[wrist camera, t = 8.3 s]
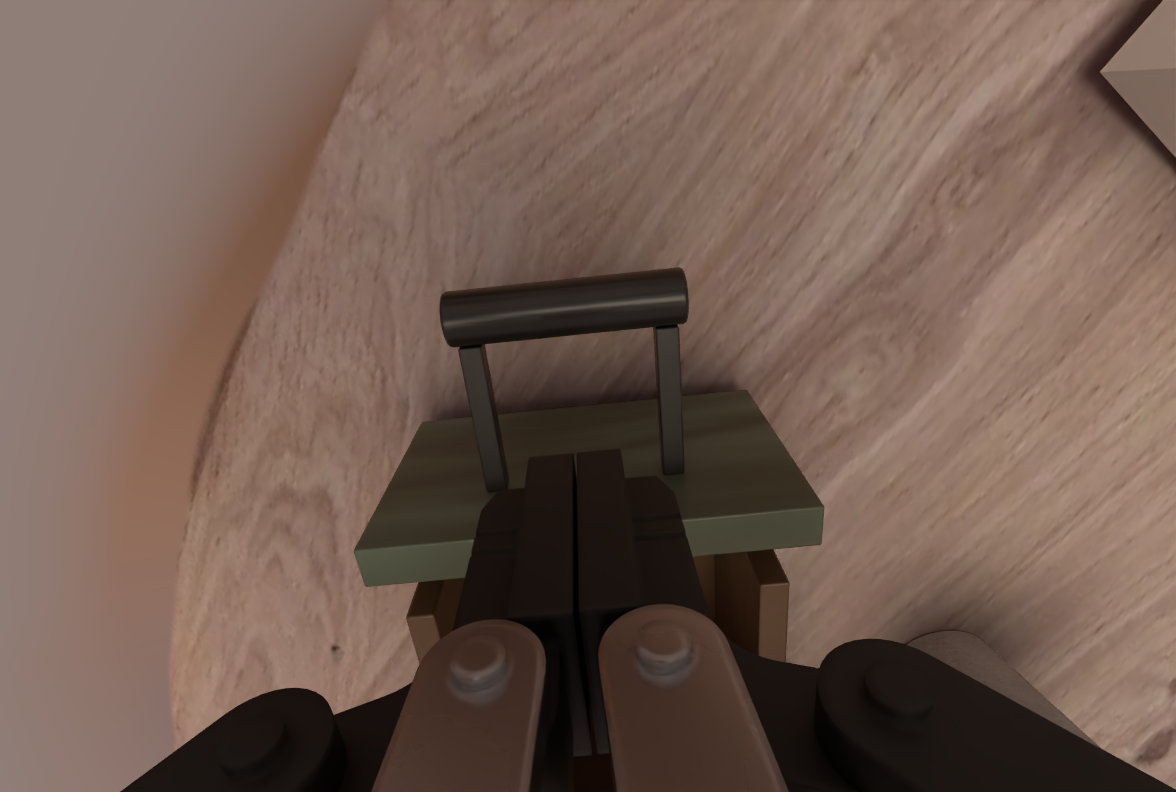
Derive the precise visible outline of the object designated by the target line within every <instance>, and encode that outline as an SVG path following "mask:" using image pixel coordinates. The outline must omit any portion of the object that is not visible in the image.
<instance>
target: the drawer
mask: <svg viewBox="0 0 1176 792" xmlns="http://www.w3.org/2000/svg"><path fill="white" fill-rule="evenodd" d="M688 312H689V299H688V288H687V281H686V276H685V273H684V271H683V269H682V268H679V267H678V268H668V269H659V270H649V271H640V272H630V273H620V274H611V275H601V276H592V277H582V278H572V279H563V280H553V281H544V282H534V283H525V284H515V285H505V286H496V287H486V288H477V289H467V290H457V291H448V292H444V293H443V294H442V295H441V299H440V321H441V327H442V331H443V335H444V337H445V340H446V342H447V344H448V345H449V346H450V347H460V348H459V350H458V351H459V356H460V361H461V366H462V371H463V376H464V381H465V386H466V391H467V396H468V401H469V406H470V411H471V416H472V417H467V418H457V419H447V420H437V421H426V422H422V423H421V425H420V427H419V429H418V431H417V433H416V434H415V436H414V438H413V440H412V442H411V444H410V446H409V448H408V450H407V451H406V453H405V455H404V457H403V459H402V461H401V463H400V465H399V466H398V468H397V470H396V472H395V474H394V476H393V478H392V480H391V482H390V483H389V485H388V487H387V489H386V491H385V493H384V495H383V497H382V498H381V500H380V502H379V504H378V506H377V508H376V510H375V512H374V514H373V515H372V517H371V519H370V521H369V523H368V525H367V527H366V529H365V530H364V532H363V534H362V536H361V538H360V540H359V542H358V544H357V546H356V547H355V549H354V554H355V557H356V560H357V563H358V566H359V569H360V572H361V575H362V578H363V581H364V584H365V586H366V587H371V586H381V585H392V584H403V583H414V582H418V585H417V588H416V591H415V594H414V596H413V599H412V602H411V605H410V608H409V611H408V614H407V617H406V619H407V623H408V626H409V629H410V633H411V636H412V640H413V643H414V646H415V650H416V653H417V656H418V660H419V663H421V661H422V659H423V658H424V656H425V655H426V653H427V652H428V651H429V650H430V649H431V648H432V647H433V646H434V645H435V644H436V643H437V642H438V641H439V640H440V639H442V638H443V637H444V636H446V635H447V634H449V633H450V632H452V630H453V626H454V621H455V617H456V613H457V609H458V605H459V601H460V597H461V592H462V588H463V584H464V580H465V576H466V572H467V567H468V563H469V559H470V557H471V551H472V547H473V542H474V538H475V537H476V530H477V526H478V522H479V517H480V513H481V510H482V509H483V508H484V507H485V505H486V504H487V503H488V502H489V501H490V500H491V499H492V497H493V496H494V495H495V494H496V493H497V492H498V490H507V489H517V488H524V487H525V480H526V472H527V465H528V459H529V457H535V456H545V455H556V454H566V453H573V455H574V460H575V467H576V476H577V452H586V451H596V450H607V449H618V448H620V449H621V455H622V461H623V468H624V474H625V478H633V477H643V476H654V475H656V476H657V477H658V478H660V479H661V480H662V481H663V482H664V483H665V484H666V485H667V486H668V487H669V488H670V489H671V490H672V491H674V493H675V496H676V500H677V503H678V507H679V510H680V515H681V518H682V521H683V524H684V528H685V531H686V537H687V538H688V542H689V545H690V549H691V552H692V556H693V559H694V563H695V566H696V570H697V574H698V577H699V581H700V584H701V588H702V591H703V595H704V598H705V602H706V605H707V609H708V611H709V614H710V616H711V618H712V620H713V622H714V623H715V624H716V625H717V626H718V627H719V629H720V630H721V631H722V632H723V634H724V635H725V636H726V637H727V638H728V639H730V640H731V641H732V642H734V643H735V644H737V645H738V646H740V647H741V648H743V649H745V650H747V651H749V652H751V653H753V654H756V655H759V656H761V657H764V658H768V659H772V660H776V661H781V662H786V642H787V621H788V600H789V581H788V579H787V577H786V575H785V573H784V571H783V569H782V566H781V564H780V562H779V560H778V558H777V556H776V554H775V552H774V550H773V549H781V548H792V547H802V546H813V545H821V543H822V530H823V516H824V506H823V504H822V503H821V501H820V500H819V498H818V496H817V495H816V493H815V492H814V490H813V489H812V487H811V486H810V484H809V483H808V481H807V480H806V478H805V477H804V475H803V474H802V472H801V471H800V469H799V468H798V466H797V465H796V463H795V462H794V460H793V459H792V457H791V456H790V454H789V453H788V451H787V450H786V448H785V447H784V445H783V444H782V442H781V441H780V439H779V438H778V436H777V435H776V433H775V432H774V430H773V429H772V427H771V426H770V424H769V423H768V421H767V420H766V418H765V417H764V415H763V414H762V412H761V411H760V409H759V407H758V406H757V404H756V403H755V401H754V400H753V398H752V397H751V395H750V394H749V392H748V391H747V390H739V391H729V392H719V393H709V394H699V395H689V396H682V388H681V363H680V338H679V327H678V324H684V323H686V322H687V319H688ZM649 327H653V334H654V351H655V368H656V385H657V399H648V400H638V401H628V402H618V403H608V404H598V405H588V406H578V407H568V408H558V409H547V410H537V411H527V412H517V413H507V414H497V409H496V403H495V398H494V392H493V386H492V381H491V375H490V370H489V364H488V359H487V353H486V348H485V344H492V343H502V342H512V341H521V340H531V339H541V338H551V337H561V336H571V335H580V334H590V333H600V332H610V331H620V330H629V329H639V328H649ZM590 703H591V700H590ZM591 734H592V755H586V756H575V757H574V792H602V791H614V787H613V778H612V770H611V761H610V753H605V754H597V746H596V739H595V731H594V723H593V716H592V708H591Z"/></svg>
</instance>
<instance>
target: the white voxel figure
mask: <svg viewBox="0 0 1176 792" xmlns="http://www.w3.org/2000/svg"><path fill="white" fill-rule="evenodd" d="M1100 73H1101V74H1102V75H1103V76H1104V77H1105V79H1106V80H1107V81H1108V82H1109V83H1110V84H1111V85H1112V86H1113V88H1114V89H1115V90H1116V91H1117V92H1118V93H1119V94H1120V95H1121V97H1122V98H1123V99H1124V100H1125V101H1126V102H1127V103H1128V104H1129V106H1130V107H1131V108H1132V109H1133V110H1134V111H1135V112H1136V113H1137V115H1138V116H1139V117H1140V118H1141V119H1142V120H1143V121H1144V123H1145V124H1146V125H1147V126H1148V127H1149V128H1150V129H1151V130H1152V132H1153V133H1154V134H1155V135H1156V136H1157V137H1158V138H1159V139H1160V141H1161V142H1162V143H1163V144H1164V145H1165V146H1166V147H1167V148H1168V150H1169V151H1170V152H1171V153H1172V154H1173V155H1174V156H1175V157H1176V0H1163V1H1162V2H1161V3H1160V4H1159V5H1158V7H1157V8H1156V9H1155V10H1154V11H1153V12H1152V13H1151V14H1150V16H1149V17H1148V18H1147V19H1146V20H1145V21H1144V22H1143V24H1142V25H1141V26H1140V27H1139V28H1138V29H1137V30H1136V31H1135V33H1134V34H1133V35H1132V36H1131V37H1130V38H1129V39H1128V41H1127V42H1126V43H1125V44H1124V45H1123V46H1122V47H1121V48H1120V50H1119V51H1118V52H1117V53H1116V54H1115V55H1114V56H1113V57H1112V59H1111V60H1110V61H1109V62H1108V63H1107V64H1106V65H1105V67H1104V68H1103V69H1102V70H1101V71H1100Z"/></svg>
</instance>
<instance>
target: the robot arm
mask: <svg viewBox="0 0 1176 792" xmlns="http://www.w3.org/2000/svg"><path fill="white" fill-rule="evenodd" d="M590 700H591V703H590ZM591 708H592V716H593V723H594V731H595V739H596V746H597V754H605V753H610V761H611V770H612V778H613V787H614V792H1176V790H1175V789H1173V788H1172V787H1170V786H1168V785H1166V784H1164V783H1163V782H1161V781H1159V780H1157V779H1155V778H1153V777H1152V776H1150V775H1148V774H1146V773H1144V772H1143V771H1141V770H1139V769H1137V768H1135V767H1133V766H1132V765H1130V764H1128V763H1126V762H1124V761H1122V760H1121V759H1119V758H1117V757H1115V756H1113V755H1112V754H1110V753H1108V752H1106V751H1104V750H1102V749H1101V748H1099V747H1097V746H1095V745H1093V744H1091V743H1090V742H1088V741H1086V740H1084V739H1082V738H1081V737H1079V736H1077V735H1075V734H1073V733H1071V732H1070V731H1068V730H1066V729H1064V728H1062V727H1060V726H1059V725H1057V724H1055V723H1053V722H1051V721H1050V720H1048V719H1046V718H1044V717H1042V716H1040V715H1039V714H1037V713H1035V712H1033V711H1031V710H1030V709H1028V708H1026V707H1024V706H1022V705H1020V704H1019V703H1017V702H1015V701H1013V700H1011V699H1009V698H1008V697H1006V696H1004V695H1002V694H1000V693H999V692H997V691H995V690H993V689H991V688H989V687H988V686H986V685H984V684H982V683H980V682H978V681H977V680H975V679H973V678H971V677H969V676H968V675H966V674H964V673H962V672H960V671H958V670H957V669H955V668H953V667H951V666H949V665H948V664H946V663H944V662H942V661H940V660H938V659H937V658H935V657H933V656H931V655H929V654H927V653H925V652H923V651H921V650H919V649H917V648H914V647H911V646H908V645H906V644H902V643H898V642H894V641H889V640H881V639H862V640H854V641H851V642H848V643H844V644H842V645H840V646H838V647H836V648H835V649H834V650H832V651H831V652H830V653H829V654H828V655H827V656H826V657H825V659H824V660H823V661H822V663H821V666H820V668H819V669H818V668H813V667H808V666H802V665H797V664H791V663H786V662H781V661H776V660H772V659H768V658H764V657H761V656H759V655H756V654H753V653H751V652H749V651H747V650H745V649H743V648H741V647H740V646H738V645H737V644H735V643H734V642H732V641H731V640H730V639H728V638H727V637H726V636H725V635H724V634H723V632H722V631H721V630H720V629H719V627H718V626H717V625H716V624H715V623H714V622H713V620H712V618H711V616H710V614H709V611H708V609H707V605H706V602H705V598H704V595H703V591H702V588H701V584H700V581H699V577H698V574H697V570H696V566H695V563H694V559H693V556H692V552H691V549H690V545H689V542H688V538H687V537H686V531H685V528H684V524H683V521H682V518H681V515H680V510H679V507H678V503H677V500H676V496H675V493H674V491H672V490H671V489H670V488H669V487H668V486H667V485H666V484H665V483H664V482H663V481H662V480H661V479H660V478H658V477H657V476H656V475H654V476H643V477H633V478H625V474H624V468H623V461H622V455H621V449H620V448H618V449H607V450H596V451H586V452H577V476H576V467H575V460H574V455H573V453H566V454H556V455H545V456H535V457H529V459H528V465H527V472H526V480H525V487H524V488H517V489H507V490H498V492H497V493H496V494H495V495H494V496H493V497H492V499H491V500H490V501H489V502H488V503H487V504H486V505H485V507H484V508H483V509H482V510H481V513H480V517H479V522H478V526H477V530H476V537H475V538H474V542H473V547H472V551H471V557H470V559H469V563H468V567H467V572H466V576H465V580H464V584H463V588H462V592H461V597H460V601H459V605H458V609H457V613H456V617H455V621H454V626H453V630H452V632H450V633H449V634H447V635H446V636H444V637H443V638H442V639H440V640H439V641H438V642H437V643H436V644H435V645H434V646H433V647H432V648H431V649H430V650H429V651H428V652H427V653H426V655H425V656H424V658H423V659H422V661H421V663H420V665H419V667H418V669H417V671H416V674H415V677H414V679H413V682H412V683H410V684H409V685H407V686H405V687H403V688H402V689H400V690H398V691H396V692H394V693H391V694H389V695H387V696H384V697H381V698H379V699H376V700H373V701H371V702H368V703H365V704H362V705H360V706H357V707H354V708H352V709H349V710H346V711H343V712H341V713H338V714H335V715H333V712H332V710H331V708H330V706H329V703H328V702H327V701H326V700H325V699H324V697H323V696H321V695H319V694H318V693H316V692H314V691H311V690H308V689H302V688H285V689H280V690H275V691H271V692H268V693H265V694H262V695H259V696H257V697H255V698H252V699H250V700H248V701H246V702H244V703H242V704H241V705H239V706H237V707H235V708H234V709H232V710H231V711H229V712H228V713H226V714H225V715H224V716H222V717H221V718H219V719H218V720H217V721H215V722H214V723H213V724H211V725H210V726H209V727H207V728H206V729H205V730H203V731H202V732H200V733H199V734H198V735H196V736H195V737H194V738H192V739H191V740H190V741H188V742H187V743H186V744H184V745H183V746H182V747H180V748H179V749H177V750H176V751H175V752H173V753H172V754H171V755H169V756H168V757H167V758H165V759H164V760H163V761H161V762H160V763H158V764H157V765H156V766H154V767H153V768H152V769H150V770H149V771H148V772H146V773H145V774H144V775H143V776H141V777H140V778H138V779H137V780H135V781H134V782H133V783H131V784H130V785H129V786H128V787H126V788H125V789H123V790H122V791H121V792H574V757H575V756H586V755H592V734H591Z"/></svg>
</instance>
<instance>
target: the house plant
mask: <svg viewBox="0 0 1176 792" xmlns="http://www.w3.org/2000/svg"><path fill="white" fill-rule="evenodd" d="M906 645H908V646H911V647H914V648H917V649H919V650H921V651H923V652H925V653H927V654H929V655H931V656H933V657H935V658H937V659H938V660H940V661H942V662H944V663H946V664H948V665H949V666H951V667H953V668H955V669H957V670H958V671H960V672H962V673H964V674H966V675H968V676H969V677H971V678H973V679H975V680H977V681H978V682H980V683H982V684H984V685H986V686H988V687H989V688H991V689H993V690H995V691H997V692H999V693H1000V694H1002V695H1004V696H1006V697H1008V698H1009V699H1011V700H1013V701H1015V702H1017V703H1019V704H1020V705H1022V706H1024V707H1026V708H1028V709H1030V710H1031V711H1033V712H1035V713H1037V714H1039V715H1040V716H1042V717H1044V718H1046V719H1048V720H1050V721H1051V722H1053V723H1055V724H1057V725H1059V726H1060V727H1062V728H1064V729H1066V730H1068V731H1070V732H1071V733H1073V734H1075V735H1077V736H1079V737H1081V738H1082V739H1084V740H1086V741H1088V742H1090V743H1091V744H1093V745H1095V746H1097V747H1099V746H1098V745H1097V744H1096V743H1095V742H1094V741H1092V740H1091V739H1090V738H1089V737H1088V736H1087V735H1086V734H1085V733H1084V732H1083V731H1081V730H1080V729H1079V728H1078V727H1077V726H1076V725H1075V724H1074V723H1073V722H1072V721H1070V720H1069V719H1068V718H1067V717H1066V716H1065V715H1064V714H1063V713H1062V712H1061V711H1059V710H1058V709H1057V708H1056V707H1055V706H1054V705H1053V704H1052V703H1051V702H1050V701H1048V700H1047V699H1046V698H1045V697H1044V696H1043V695H1042V694H1041V693H1040V692H1039V691H1038V690H1036V689H1035V688H1034V687H1033V686H1032V685H1031V684H1030V683H1029V682H1028V681H1027V680H1025V679H1024V678H1023V677H1022V676H1021V675H1020V674H1019V673H1018V672H1017V671H1016V670H1014V669H1013V668H1012V667H1011V666H1010V665H1009V664H1008V663H1007V662H1006V661H1005V660H1003V659H1002V658H1001V657H1000V656H999V655H998V654H997V653H996V652H995V651H994V650H993V649H991V648H990V647H989V646H988V645H987V644H986V643H985V642H984V641H983V640H982V639H980V638H979V637H977V636H974V635H972V634H970V633H966V632H961V631H940V632H935V633H931V634H927V635H924V636H922V637H919V638H917V639H915V640H912V641H911V642H909V643H908V644H906ZM1099 748H1100V747H1099Z"/></svg>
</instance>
